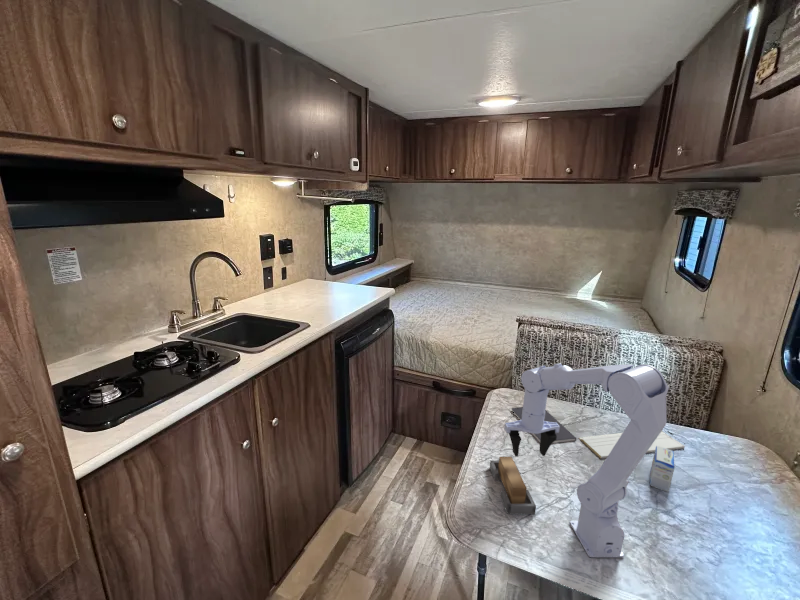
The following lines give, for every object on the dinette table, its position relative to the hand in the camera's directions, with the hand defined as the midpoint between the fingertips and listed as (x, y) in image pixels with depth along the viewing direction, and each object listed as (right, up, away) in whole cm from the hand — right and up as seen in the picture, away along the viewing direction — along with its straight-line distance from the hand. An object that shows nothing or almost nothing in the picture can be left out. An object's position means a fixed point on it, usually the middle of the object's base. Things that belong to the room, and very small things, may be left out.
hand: (528, 453), depth 101 cm
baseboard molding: (+41, -6, +21) cm, 46 cm away
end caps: (-5, -9, -1) cm, 11 cm away
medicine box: (+39, -9, +3) cm, 40 cm away
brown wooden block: (-5, -9, -1) cm, 10 cm away
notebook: (+15, -3, +30) cm, 33 cm away
